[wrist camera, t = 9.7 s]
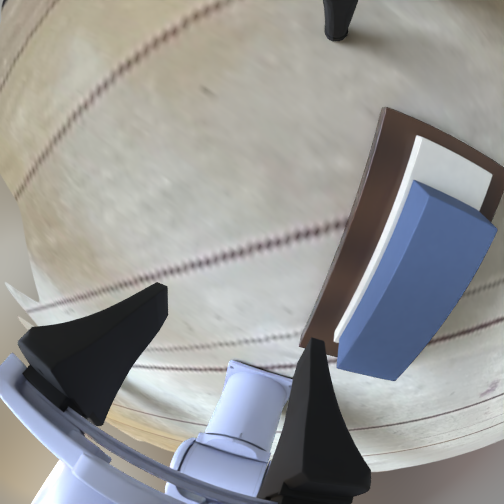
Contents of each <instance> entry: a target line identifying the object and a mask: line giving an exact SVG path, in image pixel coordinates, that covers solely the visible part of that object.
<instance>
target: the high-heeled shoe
mask: <svg viewBox="0 0 504 504" xmlns="http://www.w3.org/2000/svg"><path fill="white" fill-rule="evenodd" d="M357 3H358V0H323V4H324V11H325V35H326V36H327V38H328V39H329V40H331V41H341V40H343V39H344V38H345V37H346V36H347V34H348V27H349V24H350V22H351V19H352V16H353V13H354V10H355V8H356V5H357Z"/></svg>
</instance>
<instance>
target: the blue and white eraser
mask: <svg viewBox="0 0 504 504" xmlns="http://www.w3.org/2000/svg"><path fill="white" fill-rule="evenodd" d="M491 178H492V174H491V173H489V172H488V171H486V170H484V169H483V168H481V167H479V166H478V165H476V164H474V163H472V162H471V161H469V160H467V159H465V158H464V157H462V156H460V155H458V154H456V153H454V152H452V151H450V150H448V149H447V148H445V147H443V146H440V145H438V144H436V143H434V142H432V141H430V140H428V139H426V138H424V137H421V136H418V135H417V136H416V138H415V142H414V145H413V149H412V152H411V155H410V159H409V162H408V165H407V168H406V171H405V174H404V177H403V180H402V183H401V186H400V189H399V191H398V194H397V197H396V200H395V202H394V205H393V208H392V210H391V213H390V215H389V218H388V220H387V223H386V225H385V228H384V230H383V233H382V235H381V238H380V240H379V242H378V245H377V247H376V249H375V251H374V254H373V256H372V258H371V260H370V263H369V265H368V267H367V269H366V271H365V273H364V276H363V278H362V280H361V282H360V284H359V286H358V288H357V290H356V292H355V294H354V296H353V298H352V300H351V302H350V304H349V306H348V308H347V310H346V311H345V313H344V315H343V317H342V319H341V321H340V323H339V325H338V326H337V328H336V330H335V333H334V342H337V343H339V346H338V358H337V368H338V369H342V370H346V371H350V372H354V373H358V374H363V375H367V376H372V377H376V378H381V379H386V380H391V381H396V380H397V378H398V377H399V376H400V375H401V374H402V373H403V372H404V371H405V370H406V369H407V368H408V366H409V365H410V364H411V363H412V362H413V361H414V359H415V358H416V357H417V356H418V355H419V354H420V352H421V351H422V350H423V349H424V347H425V346H426V345H427V344H428V343H429V341H430V340H431V339H432V337H433V336H434V335H435V334H436V332H437V331H438V330H439V328H440V327H441V325H442V324H443V323H444V321H445V320H446V319H447V317H448V316H449V314H450V313H451V311H452V310H453V308H454V307H455V306H456V304H457V303H458V301H459V299H460V298H461V296H462V295H463V293H464V292H465V290H466V288H467V287H468V285H469V283H470V282H471V280H472V278H473V277H474V275H475V273H476V272H477V270H478V268H479V266H480V264H481V263H482V261H483V259H484V257H485V255H486V253H487V251H488V249H489V247H490V245H491V243H492V241H493V239H494V237H495V235H496V233H497V228H496V227H495V226H494V225H493V224H492V223H491V222H490V221H489V220H488V219H487V218H486V217H485V216H483V215H482V214H481V213H480V212H479V210H480V208H481V205H482V203H483V200H484V198H485V195H486V193H487V190H488V187H489V184H490V181H491Z"/></svg>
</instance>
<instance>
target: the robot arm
mask: <svg viewBox="0 0 504 504" xmlns="http://www.w3.org/2000/svg"><path fill="white" fill-rule="evenodd" d="M167 316H168V288H167V286H165V285H163V284H160V283H158V282H157V283H155V284H153V285H151V286H149V287H147V288H145V289H144V290H142V291H140V292H138V293H136V294H135V295H133V296H131V297H129V298H127V299H125V300H123V301H121V302H119V303H117V304H115V305H113V306H111V307H109V308H107V309H105V310H102V311H100V312H97V313H95V314H92V315H89V316H87V317H83V318H80V319H76V320H73V321H69V322H65V323H60V324H55V325H48V326H38V327H32V328H31V329H30V330H29V331H28V332H27V333H26V334H25V335H24V336H23V337H22V338H21V339H20V340H19V341H18V346H19V348H20V350H21V351H22V353H23V354H24V356H25V358H26V359H27V361H28V362H29V364H30V365H29V366H28V368H27V367H26V366H25V365H24V364H23V363H22V361H21V360H19V358H18V357H17V356H16V355H15V354H14V353H11V354H10V355H9V356H8V357H7V359H6V360H5V361H4V362H3V363H2V364H1V365H0V397H1V398H2V400H3V401H4V402H5V403H6V405H7V406H8V407H9V408H10V410H11V411H12V412H13V413H14V414H15V415H16V417H17V418H18V419H19V420H20V421H21V422H22V423H23V424H24V425H25V427H26V428H27V429H28V430H29V431H30V432H31V433H32V434H33V435H34V436H35V437H36V438H37V439H38V440H39V441H40V442H41V443H42V444H43V445H44V446H46V448H48V449H49V450H50V451H51V452H52V453H53V454H54V455H55V456H56V457H57V458H59V459H60V460H59V461H58V463H57V464H56V466H55V467H54V469H53V470H52V472H51V473H50V475H49V477H48V478H47V479H46V481H45V483H44V484H43V486H42V487H41V489H40V491H39V492H38V494H37V495H36V497H35V498H34V500H33V501H32V503H31V504H351V503H352V500H353V497H354V496H357V495H360V494H363V493H366V492H367V491H369V489H370V484H371V470H370V468H369V467H368V465H367V464H366V462H365V461H364V459H363V457H362V456H361V454H360V452H359V451H358V449H357V447H356V445H355V443H354V441H353V439H352V437H351V435H350V433H349V431H348V429H347V427H346V424H345V422H344V420H343V417H342V414H341V412H340V409H339V406H338V403H337V400H336V396H335V393H334V389H333V385H332V381H331V376H330V372H329V367H328V362H327V356H326V348H325V342H324V341H323V340H319V339H316V338H313V337H311V339H310V340H309V342H308V344H307V346H306V348H305V350H304V352H303V354H302V356H301V357H300V359H299V361H298V363H297V367H296V370H295V374H294V377H293V379H290V378H286V377H283V376H279V375H276V374H273V373H270V372H266V371H263V370H260V369H257V368H254V367H251V366H248V365H245V364H242V363H239V362H237V361H234V360H231V361H230V362H229V364H228V369H227V374H226V378H225V383H224V388H223V393H222V396H221V398H220V400H219V402H218V404H217V407H216V409H215V411H214V413H213V415H212V418H211V420H210V422H209V424H208V426H207V428H206V431H205V433H202V432H200V433H199V435H198V437H197V439H196V438H193V437H192V438H189V439H188V440H185V441H184V442H183V443H182V444H181V445H180V446H179V447H178V449H177V450H176V452H175V454H174V456H173V459H172V461H171V464H170V467H167V466H165V465H163V464H161V463H159V462H157V461H155V460H153V459H151V458H149V457H146V456H145V455H143V454H141V453H139V452H137V451H136V450H134V449H132V448H130V447H128V446H127V445H125V444H123V443H122V442H120V441H118V440H117V439H115V438H113V437H112V436H110V435H108V434H107V433H105V432H104V431H102V430H101V429H99V428H98V427H96V426H102V425H103V423H104V421H105V418H106V416H107V414H108V411H109V409H110V407H111V405H112V402H113V400H114V398H115V396H116V394H117V392H118V390H119V389H120V387H121V385H122V383H123V381H124V379H125V378H126V376H127V374H128V372H129V371H130V369H131V367H132V366H133V364H134V363H135V362H136V360H137V359H138V358H139V356H140V355H141V354H142V352H143V351H144V350H145V349H146V347H147V346H148V345H149V343H150V342H151V341H152V339H153V338H154V337H155V336H156V334H157V333H158V332H159V330H160V328H161V327H162V325H163V323H164V322H165V320H166V318H167ZM288 399H289V402H288V408H287V413H286V418H285V422H284V426H283V430H282V433H281V436H280V439H279V442H278V445H277V448H276V450H275V453H274V456H273V459H272V461H271V460H270V461H269V458H270V454H271V453H270V450H271V447H272V443H273V440H274V437H275V434H276V430H277V427H278V423H279V420H280V416H281V413H282V409H283V406H284V405H285V403H286V402H287V400H288ZM83 417H84V418H83ZM86 419H87V420H86ZM90 422H91V423H90ZM93 424H94V425H93ZM84 434H85V435H87V436H88V437H90V438H91V439H93V440H94V441H95V442H97V443H98V444H100V445H101V446H103V447H104V448H106V449H107V450H109V451H111V452H112V453H114V454H116V455H117V456H119V457H121V458H122V459H124V460H126V461H127V462H129V463H131V464H133V465H135V466H137V467H138V468H140V469H142V470H144V471H146V472H148V473H150V474H152V475H154V476H156V477H158V478H160V479H162V480H164V481H167V484H166V487H165V494H164V493H162V492H160V491H158V490H156V489H154V488H152V487H149V486H148V485H146V484H144V483H142V482H140V481H138V480H136V479H134V478H132V477H131V476H129V475H127V474H125V473H124V472H122V471H120V470H118V469H117V468H115V467H113V466H112V465H110V464H109V463H110V462H111V458H110V457H109V456H108V455H106V454H105V453H104V452H103V451H102V450H100V448H99V447H97V446H96V445H95V444H93V443H92V442H91V441H89V440H88V439H87V438H85V435H84ZM268 461H269V464H268ZM267 464H268V466H267ZM266 467H267V468H266Z"/></svg>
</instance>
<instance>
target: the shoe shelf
mask: <svg viewBox="0 0 504 504" xmlns="http://www.w3.org/2000/svg"><path fill="white" fill-rule="evenodd" d="M417 135H418V136H421V137H424V138H426V139H428V140H430V141H432V142H434V143H436V144H438V145H440V146H443V147H445V148H447V149H448V150H450V151H452V152H454V153H456V154H458V155H460V156H462V157H464V158H465V159H467V160H469V161H471V162H472V163H474V164H476V165H478V166H479V167H481V168H483V169H484V170H486V171H488V172H489V173H491V174H492V178H491V181H490V184H489V187H488V190H487V193H486V195H485V198H484V200H483V203H482V205H481V208H480V210H479V212H480V213H481V214H482V215H483V216H485V217H486V218H487V219H488V220H489V221H490V222H491V221H492V219H493V217H494V214H495V212H496V209H497V207H498V204H499V202H500V199H501V197H502V194H503V191H504V167H502V166H501V165H500V164H498V163H497V162H495V161H493V160H492V159H490V158H489V157H487V156H486V155H484V154H482V153H481V152H479V151H477V150H476V149H474V148H472V147H471V146H469V145H467V144H465V143H464V142H462V141H460V140H458V139H456V138H455V137H453V136H451V135H449V134H447V133H445V132H443V131H441V130H439V129H437V128H435V127H433V126H431V125H428V124H426V123H424V122H422V121H420V120H417V119H415V118H413V117H411V116H408V115H406V114H403V113H401V112H398V111H396V110H393V109H391V108H388V107H383V108H382V110H381V114H380V118H379V122H378V125H377V129H376V133H375V137H374V140H373V144H372V147H371V151H370V154H369V158H368V161H367V164H366V168H365V171H364V174H363V177H362V180H361V184H360V187H359V190H358V193H357V196H356V199H355V202H354V205H353V208H352V211H351V214H350V216H349V219H348V222H347V225H346V228H345V230H344V233H343V236H342V239H341V241H340V244H339V247H338V249H337V252H336V255H335V257H334V260H333V262H332V265H331V267H330V270H329V272H328V275H327V277H326V280H325V282H324V285H323V287H322V289H321V292H320V294H319V296H318V299H317V301H316V304H315V306H314V308H313V310H312V313H311V315H310V317H309V319H308V322H307V324H306V326H305V328H304V330H303V333H302V335H301V339H300V343H299V347H302V348H306V346H307V344H308V342H309V340H310V339H311V337H313V338H316V339H319V340H323V341H324V342H325V348H326V354H327V355H330V356H334V357H338V346H339V343H337V342H334V333H335V330H336V328H337V326H338V325H339V323H340V321H341V319H342V317H343V315H344V313H345V311H346V310H347V308H348V306H349V304H350V302H351V300H352V298H353V296H354V294H355V292H356V290H357V288H358V286H359V284H360V282H361V280H362V278H363V276H364V273H365V271H366V269H367V267H368V265H369V263H370V260H371V258H372V256H373V254H374V251H375V249H376V247H377V245H378V242H379V240H380V238H381V235H382V233H383V230H384V228H385V225H386V223H387V220H388V218H389V215H390V213H391V210H392V208H393V205H394V202H395V200H396V197H397V194H398V191H399V189H400V186H401V183H402V180H403V177H404V174H405V171H406V168H407V165H408V162H409V159H410V155H411V152H412V149H413V145H414V142H415V138H416V136H417Z"/></svg>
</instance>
